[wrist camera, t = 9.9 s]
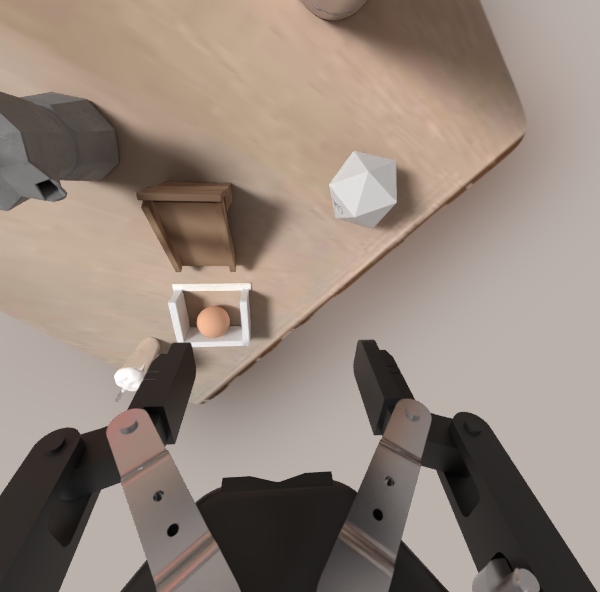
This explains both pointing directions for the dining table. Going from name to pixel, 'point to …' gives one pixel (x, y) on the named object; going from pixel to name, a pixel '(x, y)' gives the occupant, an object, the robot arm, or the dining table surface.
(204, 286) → the tape line
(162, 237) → the ramp
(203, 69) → the dining table surface
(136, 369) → the milkshake
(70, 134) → the coffeepot
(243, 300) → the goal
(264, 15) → the dining table surface
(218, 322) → the ball
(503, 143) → the dining table surface
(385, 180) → the die
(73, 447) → the robot arm
